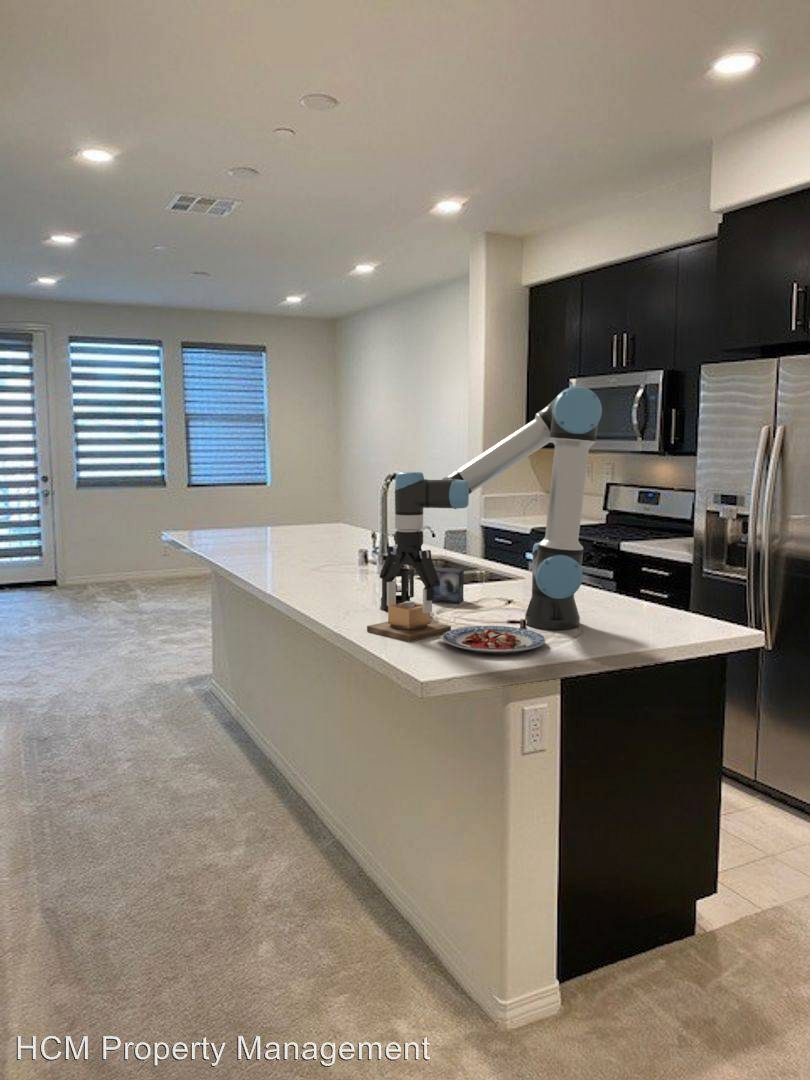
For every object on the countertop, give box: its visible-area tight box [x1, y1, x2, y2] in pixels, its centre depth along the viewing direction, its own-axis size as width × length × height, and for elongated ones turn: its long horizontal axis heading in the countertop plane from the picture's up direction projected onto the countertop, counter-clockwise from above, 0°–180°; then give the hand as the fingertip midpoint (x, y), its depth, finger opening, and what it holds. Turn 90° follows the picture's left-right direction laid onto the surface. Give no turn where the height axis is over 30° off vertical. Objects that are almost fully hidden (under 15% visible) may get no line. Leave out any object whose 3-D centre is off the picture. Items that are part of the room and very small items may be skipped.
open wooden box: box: [387, 602, 431, 629], centre depth 216 cm, size 8×8×5 cm
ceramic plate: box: [442, 625, 546, 655], centre depth 203 cm, size 26×26×3 cm
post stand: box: [366, 600, 452, 643], centre depth 216 cm, size 16×16×8 cm
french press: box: [379, 533, 415, 612], centre depth 246 cm, size 12×9×23 cm
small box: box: [432, 566, 465, 605], centre depth 258 cm, size 11×6×10 cm, turn 71°
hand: (409, 608), depth 216 cm, fingers open, 13 cm apart
